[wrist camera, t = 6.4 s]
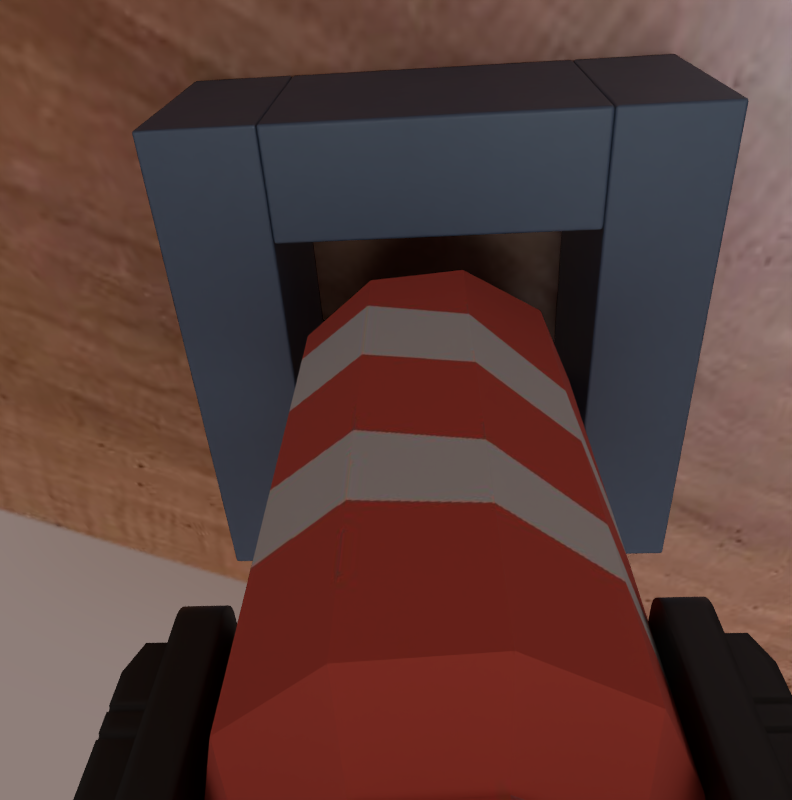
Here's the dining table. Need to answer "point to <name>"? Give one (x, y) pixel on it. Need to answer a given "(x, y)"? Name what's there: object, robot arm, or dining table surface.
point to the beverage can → (441, 577)
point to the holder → (451, 216)
